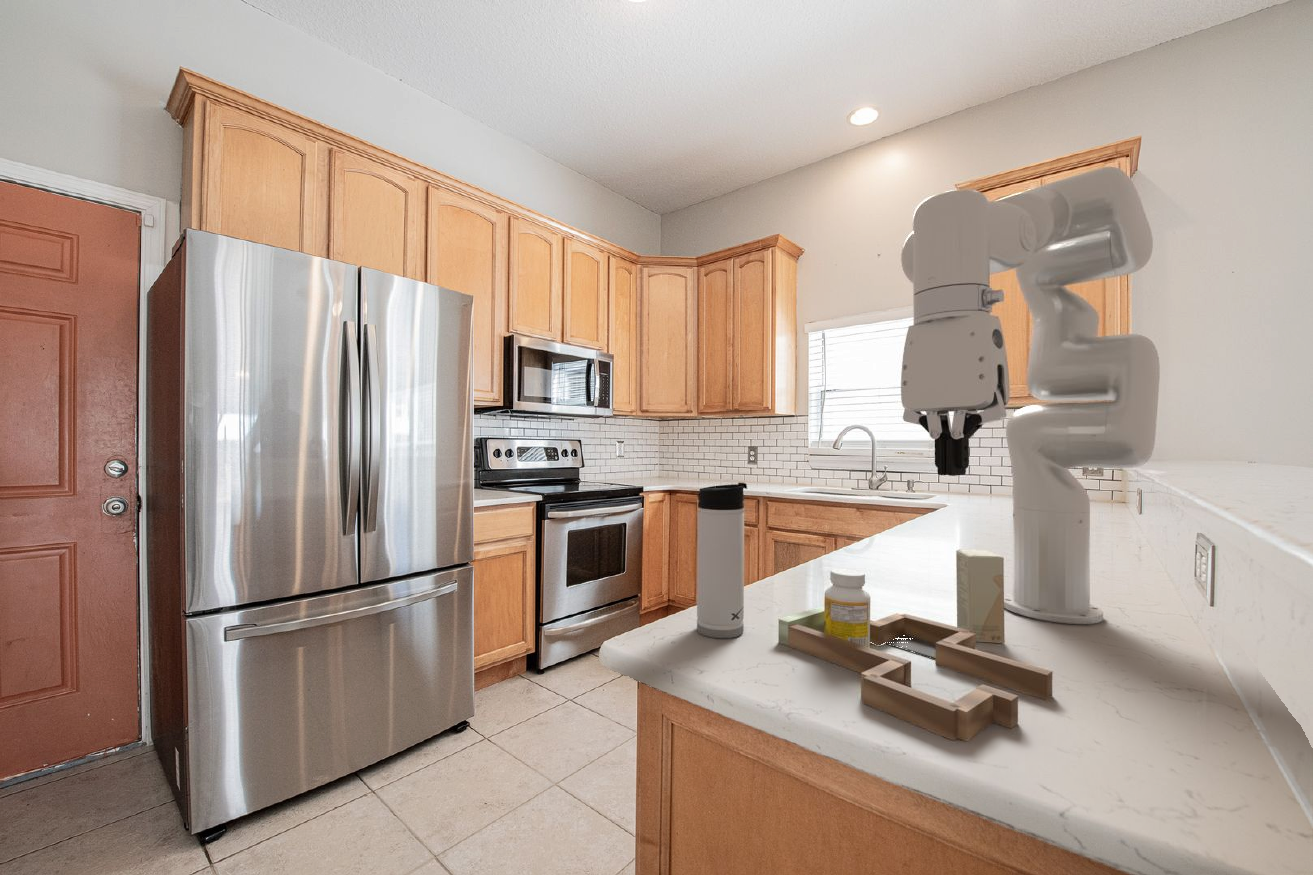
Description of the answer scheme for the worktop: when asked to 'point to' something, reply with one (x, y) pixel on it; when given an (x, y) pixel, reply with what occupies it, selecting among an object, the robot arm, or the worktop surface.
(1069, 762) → the worktop surface
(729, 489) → the travel mug
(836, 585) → the supplement bottle
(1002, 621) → the box
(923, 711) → the box
